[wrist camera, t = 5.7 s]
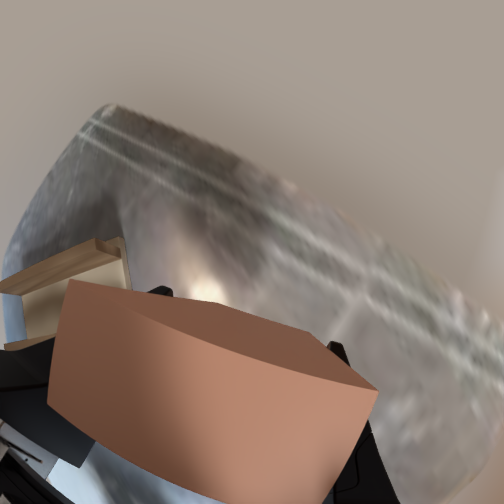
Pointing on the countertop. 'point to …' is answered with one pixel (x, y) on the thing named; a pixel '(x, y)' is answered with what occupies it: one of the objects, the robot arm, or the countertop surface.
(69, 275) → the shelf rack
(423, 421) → the countertop surface
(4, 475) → the robot arm
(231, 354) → the salmon orange rectangular block
